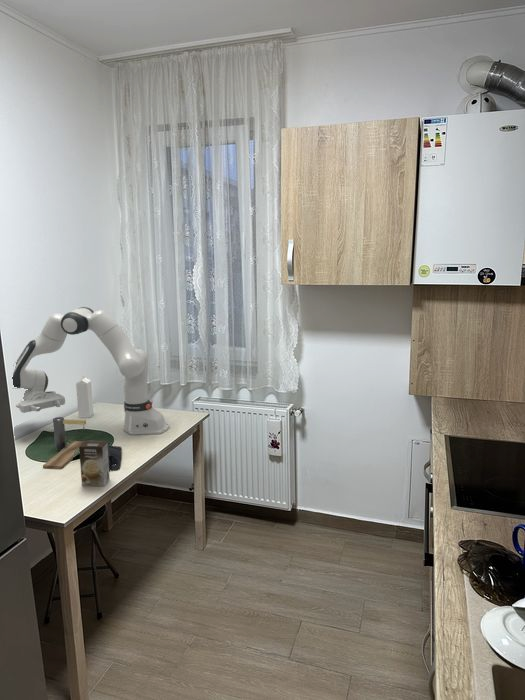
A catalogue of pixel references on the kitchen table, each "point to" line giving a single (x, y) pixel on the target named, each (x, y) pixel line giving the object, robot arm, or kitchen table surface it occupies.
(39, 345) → the robot arm
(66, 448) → the board
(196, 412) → the kitchen table surface
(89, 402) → the milk
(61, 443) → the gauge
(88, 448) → the coffee box
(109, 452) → the dark slate chunk
